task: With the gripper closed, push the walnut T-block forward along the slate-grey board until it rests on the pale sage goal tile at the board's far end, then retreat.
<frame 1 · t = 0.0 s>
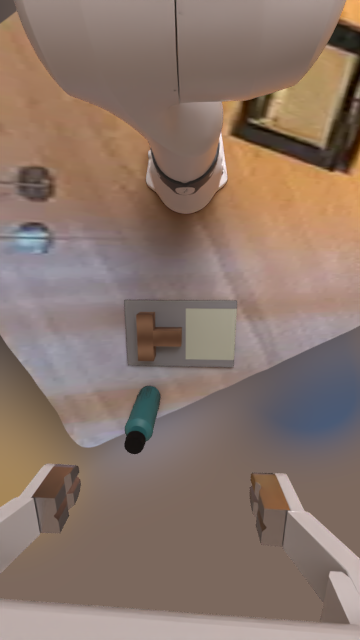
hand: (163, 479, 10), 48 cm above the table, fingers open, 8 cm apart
beverage bottle: (151, 392, 63), on the table
board: (180, 333, 58), on the table
t block: (148, 334, 58), point 1 cm above the table, touching board
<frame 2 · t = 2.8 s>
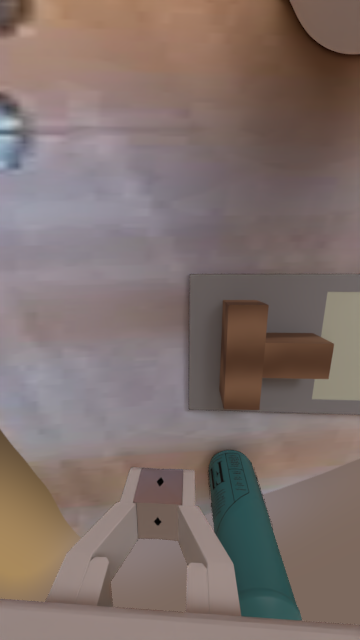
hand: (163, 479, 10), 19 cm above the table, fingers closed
beverage bottle: (228, 457, 32), on the table
board: (301, 345, 28), on the table
t block: (237, 347, 27), point 1 cm above the table, touching board
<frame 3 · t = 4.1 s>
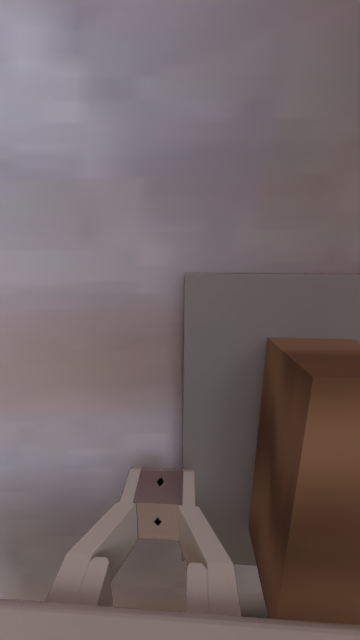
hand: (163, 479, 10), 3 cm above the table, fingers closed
t block: (294, 445, 12), point 1 cm above the table, touching board
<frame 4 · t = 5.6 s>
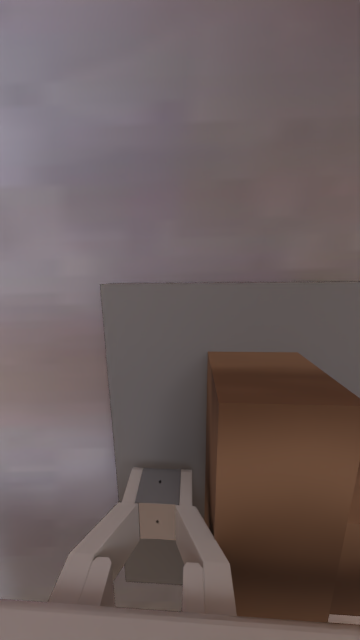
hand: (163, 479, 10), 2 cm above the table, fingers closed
t block: (244, 463, 11), point 1 cm above the table, touching board, gripper
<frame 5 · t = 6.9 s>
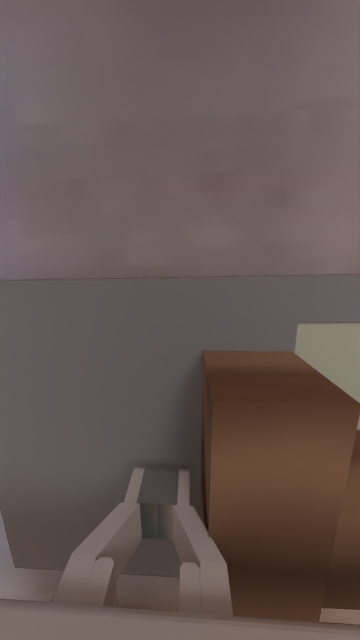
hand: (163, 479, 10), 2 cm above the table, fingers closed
board: (247, 438, 12), on the table
t block: (240, 461, 11), point 1 cm above the table, touching board, gripper
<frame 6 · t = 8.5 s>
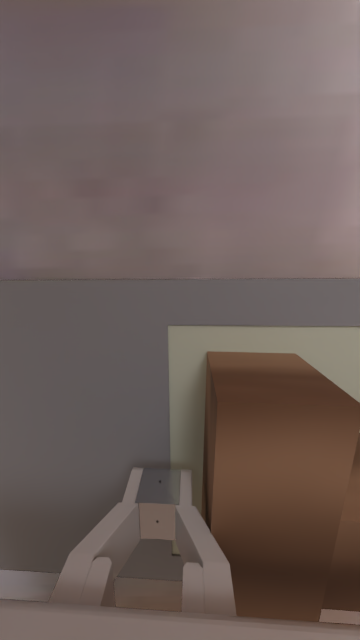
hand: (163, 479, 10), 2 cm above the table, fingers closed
board: (146, 437, 12), on the table
t block: (241, 461, 11), point 1 cm above the table, touching board, gripper
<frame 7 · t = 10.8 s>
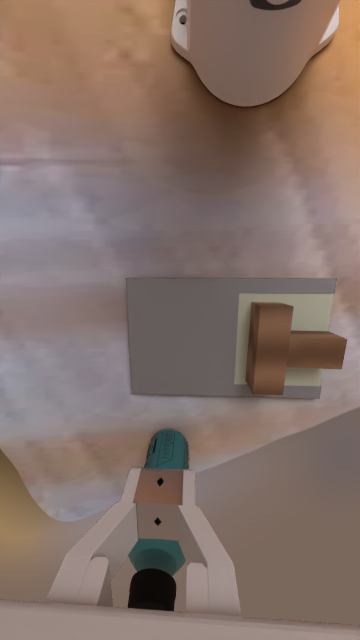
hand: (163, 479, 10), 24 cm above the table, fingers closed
beverage bottle: (170, 437, 37), on the table
board: (225, 338, 33), on the table
t block: (262, 342, 32), point 1 cm above the table, touching board
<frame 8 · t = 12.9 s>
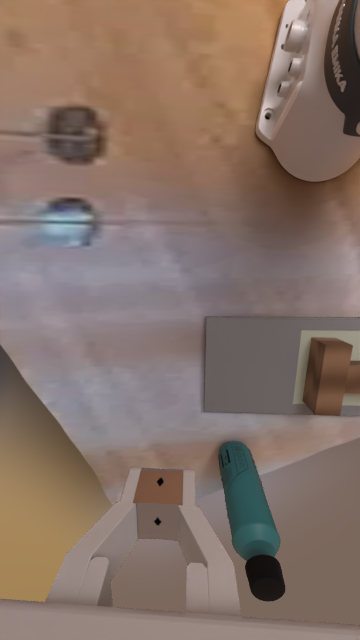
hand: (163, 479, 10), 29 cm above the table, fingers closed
beverage bottle: (232, 447, 43), on the table
board: (285, 365, 39), on the table
t block: (318, 370, 38), point 1 cm above the table, touching board
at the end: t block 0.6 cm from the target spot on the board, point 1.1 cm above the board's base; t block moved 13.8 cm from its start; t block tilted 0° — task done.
